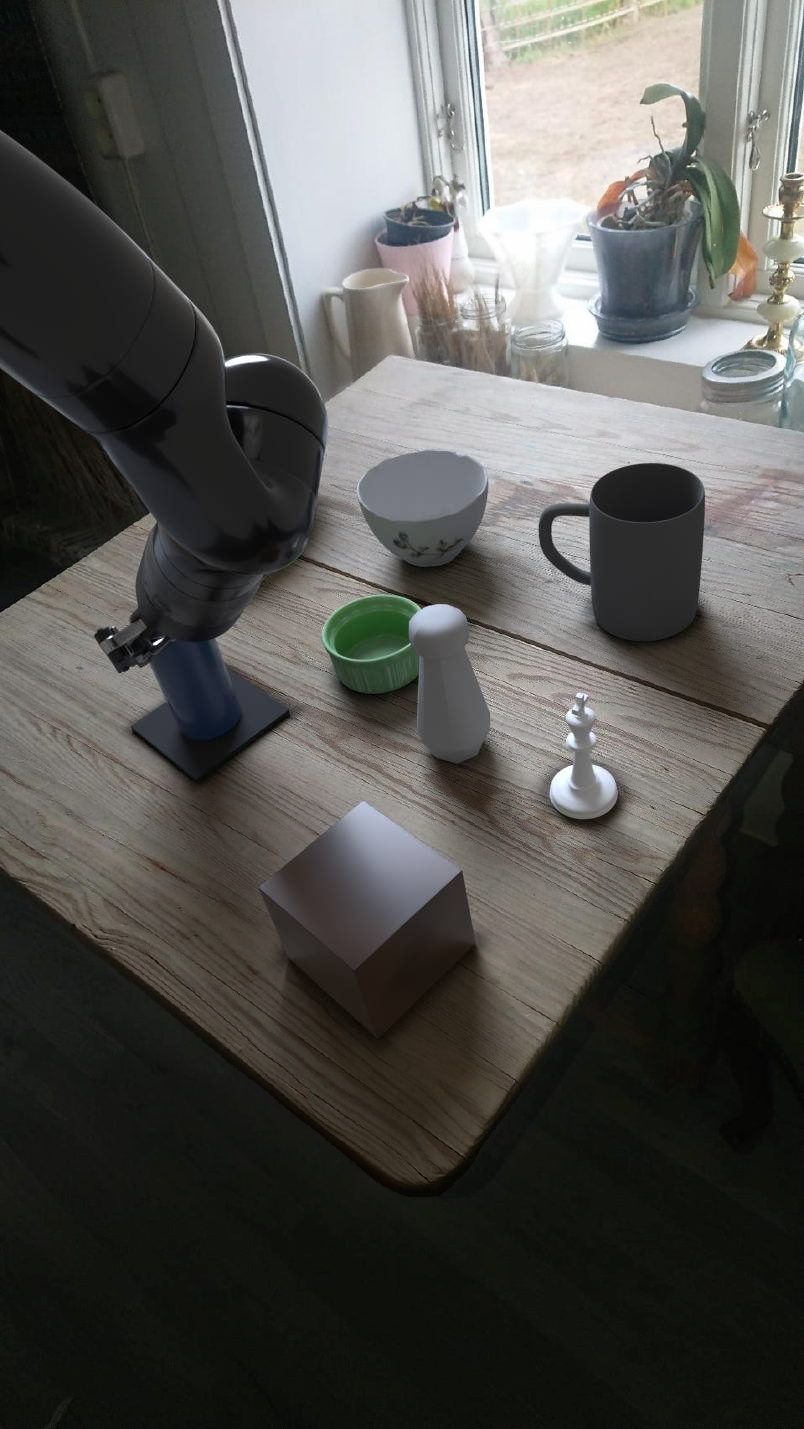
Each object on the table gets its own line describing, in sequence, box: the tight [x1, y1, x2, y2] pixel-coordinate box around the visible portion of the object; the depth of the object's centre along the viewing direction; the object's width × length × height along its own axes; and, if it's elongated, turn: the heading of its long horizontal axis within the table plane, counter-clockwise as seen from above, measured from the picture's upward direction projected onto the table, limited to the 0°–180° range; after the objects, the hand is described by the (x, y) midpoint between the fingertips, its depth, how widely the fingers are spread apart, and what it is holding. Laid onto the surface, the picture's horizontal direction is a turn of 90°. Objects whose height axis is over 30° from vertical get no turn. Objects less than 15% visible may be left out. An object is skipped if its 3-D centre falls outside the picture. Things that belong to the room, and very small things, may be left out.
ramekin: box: [321, 594, 422, 695], centre depth 84 cm, size 9×9×4 cm
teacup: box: [356, 448, 489, 568], centre depth 95 cm, size 15×12×8 cm
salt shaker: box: [409, 603, 491, 764], centre depth 73 cm, size 6×6×13 cm
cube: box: [257, 800, 477, 1040], centre depth 62 cm, size 9×9×8 cm
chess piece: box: [549, 692, 619, 820], centre depth 68 cm, size 5×5×10 cm
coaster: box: [130, 668, 291, 783], centre depth 84 cm, size 10×10×1 cm
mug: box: [538, 462, 706, 642], centre depth 82 cm, size 14×9×12 cm
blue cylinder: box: [148, 637, 242, 741], centre depth 80 cm, size 6×6×12 cm
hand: (169, 636), depth 79 cm, fingers closed on blue cylinder, 5 cm apart
